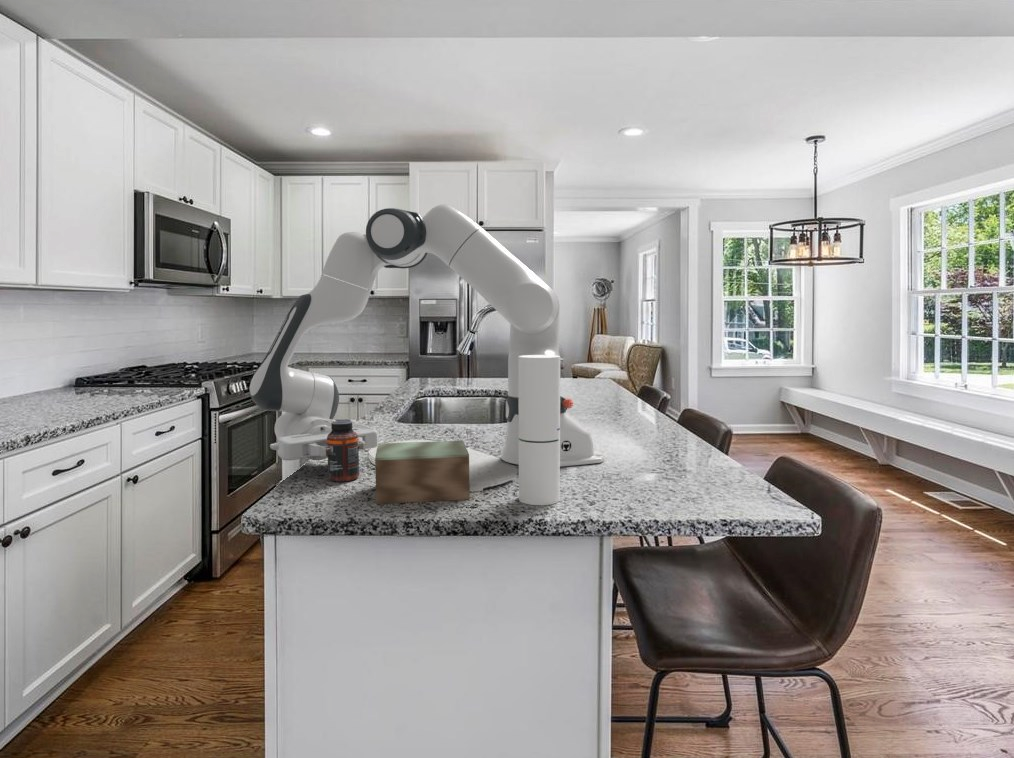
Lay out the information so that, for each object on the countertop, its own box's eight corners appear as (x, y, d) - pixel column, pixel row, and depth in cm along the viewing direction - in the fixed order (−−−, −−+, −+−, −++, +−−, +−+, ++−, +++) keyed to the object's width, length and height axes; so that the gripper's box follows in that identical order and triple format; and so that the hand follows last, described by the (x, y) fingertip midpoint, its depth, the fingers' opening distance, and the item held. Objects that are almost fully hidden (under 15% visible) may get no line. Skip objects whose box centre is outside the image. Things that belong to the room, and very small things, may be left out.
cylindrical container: (564, 495, 114) (564, 355, 111) (553, 507, 107) (554, 358, 104) (525, 491, 116) (525, 354, 113) (513, 503, 109) (512, 357, 107)
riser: (463, 481, 123) (462, 440, 123) (469, 499, 112) (469, 454, 111) (379, 485, 121) (378, 443, 120) (376, 503, 109) (375, 457, 108)
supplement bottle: (363, 475, 128) (362, 419, 127) (353, 483, 123) (351, 424, 121) (334, 474, 129) (333, 419, 128) (323, 482, 123) (321, 424, 122)
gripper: (266, 429, 128) (291, 440, 118) (360, 418, 141) (390, 427, 130) (267, 460, 129) (293, 473, 118) (360, 446, 142) (391, 457, 131)
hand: (345, 449), depth 124 cm, fingers closed on supplement bottle, 6 cm apart
